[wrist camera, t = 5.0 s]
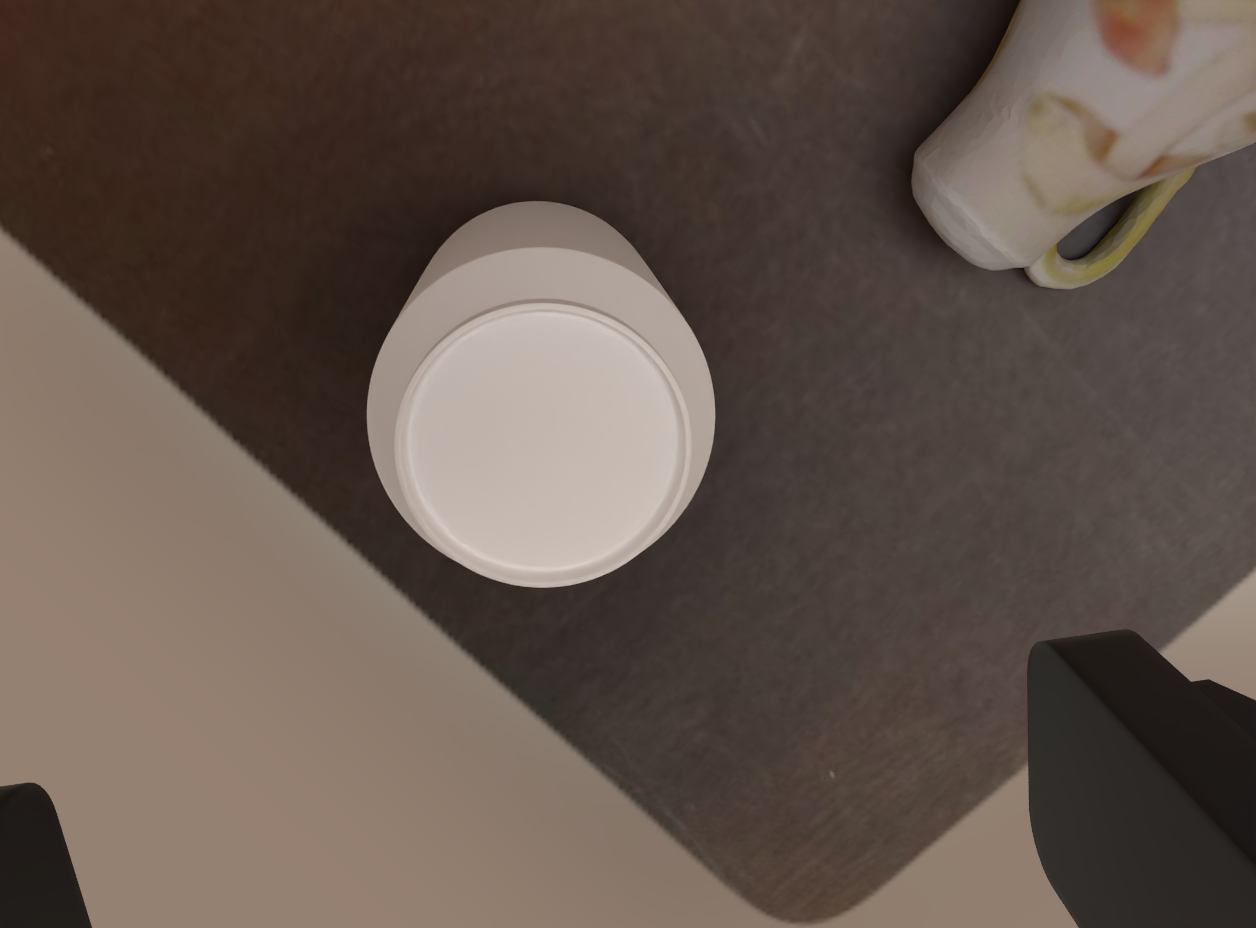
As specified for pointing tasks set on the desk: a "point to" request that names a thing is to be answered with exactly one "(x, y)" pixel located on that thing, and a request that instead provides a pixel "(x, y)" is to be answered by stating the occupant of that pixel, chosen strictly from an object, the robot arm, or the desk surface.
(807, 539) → the desk surface
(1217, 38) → the mug
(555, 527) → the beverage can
